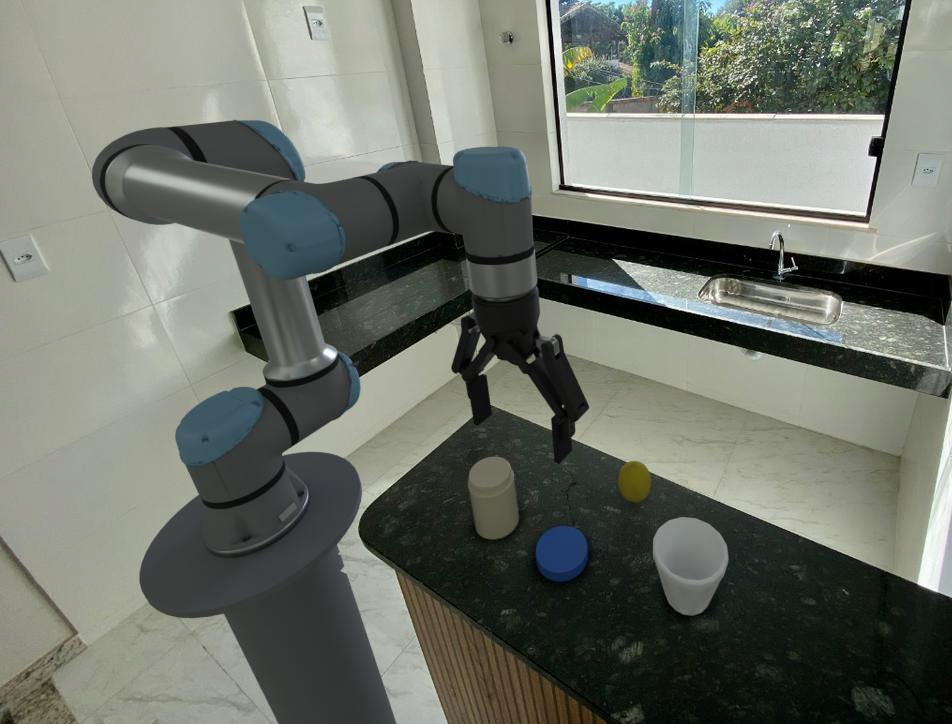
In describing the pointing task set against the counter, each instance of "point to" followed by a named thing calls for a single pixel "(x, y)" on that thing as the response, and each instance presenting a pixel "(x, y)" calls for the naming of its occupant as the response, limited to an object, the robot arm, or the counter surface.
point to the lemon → (634, 481)
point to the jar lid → (561, 553)
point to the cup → (689, 563)
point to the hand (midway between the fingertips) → (521, 436)
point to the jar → (493, 497)
